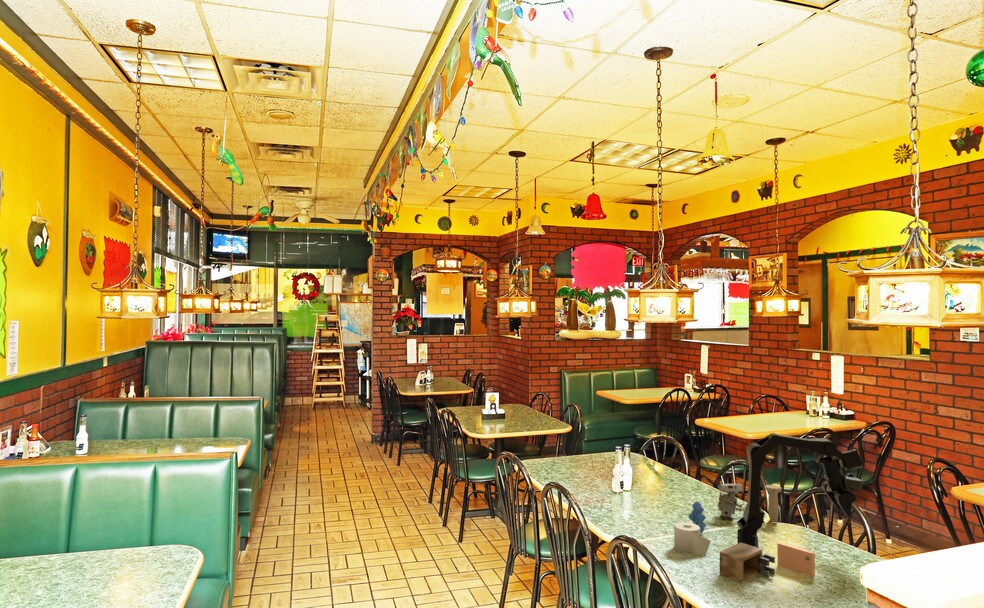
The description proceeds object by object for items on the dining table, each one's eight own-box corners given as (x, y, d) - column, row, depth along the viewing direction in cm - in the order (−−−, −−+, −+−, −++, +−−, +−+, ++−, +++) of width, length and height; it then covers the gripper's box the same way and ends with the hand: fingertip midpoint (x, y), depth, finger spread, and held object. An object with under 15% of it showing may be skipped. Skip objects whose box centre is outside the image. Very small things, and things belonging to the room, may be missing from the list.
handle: (782, 524, 258) (782, 489, 259) (765, 522, 261) (765, 487, 261) (780, 520, 263) (780, 486, 263) (764, 518, 265) (764, 484, 266)
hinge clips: (758, 574, 207) (758, 556, 207) (765, 570, 210) (764, 553, 210) (768, 577, 204) (768, 560, 204) (774, 574, 207) (774, 556, 207)
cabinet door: (776, 566, 214) (776, 543, 214) (779, 564, 216) (779, 542, 216) (811, 577, 205) (811, 554, 205) (814, 575, 206) (814, 552, 207)
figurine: (745, 522, 260) (745, 487, 260) (717, 519, 264) (717, 484, 265) (745, 516, 268) (745, 482, 269) (717, 512, 273) (717, 479, 273)
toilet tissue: (710, 556, 222) (710, 533, 222) (673, 551, 227) (673, 528, 227) (711, 548, 230) (711, 525, 231) (675, 543, 235) (675, 521, 235)
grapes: (684, 526, 255) (684, 497, 255) (700, 526, 254) (700, 498, 255) (692, 536, 243) (692, 506, 243) (708, 536, 243) (709, 506, 243)
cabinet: (719, 575, 206) (719, 551, 206) (740, 564, 215) (740, 542, 215) (741, 583, 200) (741, 559, 200) (762, 572, 209) (762, 549, 209)
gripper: (866, 474, 216) (878, 517, 215) (845, 462, 234) (856, 502, 233) (833, 480, 218) (845, 523, 217) (816, 468, 236) (826, 507, 235)
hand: (844, 513), depth 226 cm, fingers open, 9 cm apart
